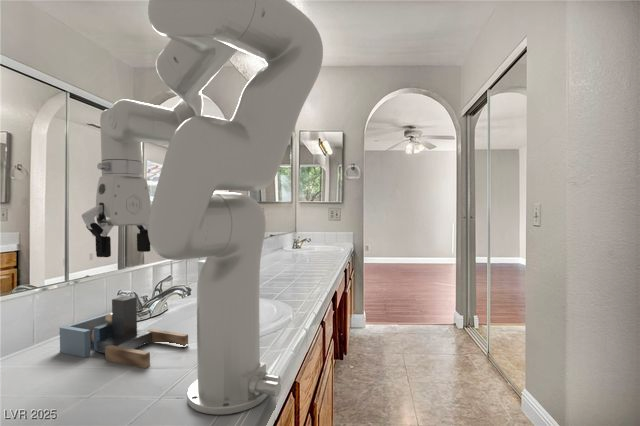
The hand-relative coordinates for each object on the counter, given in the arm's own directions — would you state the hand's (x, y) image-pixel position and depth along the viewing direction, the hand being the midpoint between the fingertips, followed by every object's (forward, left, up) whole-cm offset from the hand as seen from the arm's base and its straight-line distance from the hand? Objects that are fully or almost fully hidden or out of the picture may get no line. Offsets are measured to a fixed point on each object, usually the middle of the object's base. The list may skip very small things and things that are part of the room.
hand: (124, 254), depth 77 cm
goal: (+7, 0, -20) cm, 21 cm away
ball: (+7, 0, -18) cm, 19 cm away
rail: (-6, 0, -20) cm, 21 cm away
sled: (+1, 0, -19) cm, 19 cm away
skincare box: (-1, -27, -20) cm, 34 cm away
